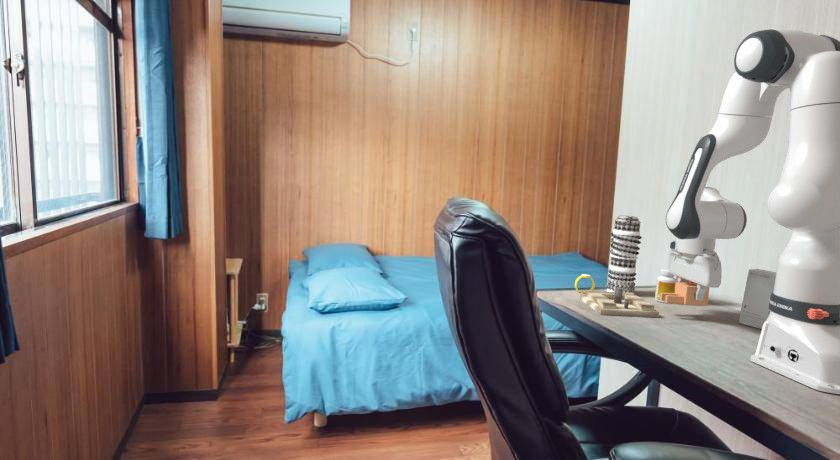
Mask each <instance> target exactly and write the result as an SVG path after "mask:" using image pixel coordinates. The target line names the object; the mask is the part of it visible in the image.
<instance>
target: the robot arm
mask: <svg viewBox="0 0 840 460" xmlns="http://www.w3.org/2000/svg"><path fill="white" fill-rule="evenodd" d="M733 60H734V61H733V64H734V65H733V66H734V68H735V69H734V70H735V72H733V74H732V76H731V77H730V78H729V81H728V83H727V85H726V87H725V90H724V93H723V95H722V99H721V103H720V105H719V110H718V114H717V117H716V121H715V122H714V124H713V126H712V128H711V129H710V131H709V132H708V133H707V134H706V135H703V136H702V137H701V138H700V139H699V140H698V142H697V143H696V146H695V147H694V149H693V152H692V154H691V157H690V159H689V162H688V164H687V167H686V170H685V172H684V175H683V176H682V177H683V178H682V180H681V183H680V185H679V187H678V190H677V193H676V195H675V197H674V199H673V200H672V203H671V204H670V206H669V208H668V210H667V211H666V216H665V225H666V227H667V229H668V230H669V232H670V233H671V234H672V235H673V236H674V237H675V238H676V239H674V240H671V241H669V243H668V249H670V250H669V253H668V262H667V263H668V265H667V266H668V267H667V270H669V272H670V274H673V275H675V276H674V277H676V276H678V282H685V283H687V281H688V280H689V281H692V282H694V283H697V288H698V290H697V292H696V293H694V299H695V300H698V301H703V298H704V294H705V292H706V291H707V289H708V287H709V288H713V289H714V288H715V289H716V288H717V289H718V288H719V287H720V286H721V284H722V269H723V268H722V263H721V262H722V261H721V259H720V256H719V255H718V254H717V253H718V252H717V251H715V249H716V248H715V247H716V240H730V239H731V240H732V239H737V238H738V237H740V236H741V235H742V234H743V233H744V230H745V229H746V228H747V227H746V226H747V221H748V218H747V214H746V210H745V209H744V207H743V206H742V205H741V204H740V203H737V202H736V203H735V202H733V201H731V200H729V199H727V198H725V197H724V196H723V195H721V194H720V190H719V189H717V188H716V187H715V188H714V187H709V186H706V185H707V183H708V181H709V178H710V175H711V173H712V171H713V170H714V168H715V167H716V166H717V165H719V163H721V162H723V161H725V160H727V159H730V158H733V157H736V156H739V155H742V154H745V153H748V152H750V151H753V150H754V149H755V148H757V147H759V146H760V145H761V144H762V143H763V142H764V141H765V140H766V138H767V136H768V134H769V130H770V128H771V124H772V121H773V115H774V112H775V111H774V110H775V107H776V102H777V99H778V97H779V96H780V94H781V93H782V92H783V91H786V90H787V89H789V91H790V103H789V123H788V125H789V126H788V144H787V150H786V156H785V160H784V163H783V165H782V166H783V167H782V170H781V173H780V176H779V179H778V182H777V185H775V187H774V188H773V189H772V191H771V192H770V194H769V195H768V198H767V205H766V206H767V210H768V214H769V215H770V217H771V219H772V220H773V222H775V223H777V224H778V225H780V226H782V227H785V228H786V229H788V230H791V231H792V234H791V236H790V238H789V240H788V243H787V245H786V246H785V248H784V249H783V250H782V252H781V253H780V255H779V256H778V259H777V267H776V271H775V272H776V279H775V285H774V292H773V293H771V296H770V298H769V309H770V314H769V316H768V318H767V320H766V321H765V322H764V324H763V327H762V329H761V332H760V336H759V337H758V338H759V339H758V343H757V347H756V351H755V353H754V354H752V355H751V356H750V361H751V362H753V363H754V364H757V365H760V366H761V367H764V368H766V369H769V370H770V371H773V372H775V373H777V374H780V375H782V376H784V377H786V378H789V379H790V380H793V381H795V382H798V383H800V384H802V385H803V386H807V387H808V388H812V389H813V390H816V391H819V392H824V393H830V394H835V395H840V41H839V40H838V39H836V38H834V37H832V36H829V35H826V34H821V35H819V34H815V33H809V32H804V31H802V30H790V29H788V30H786V29H785V30H776V29H763V30H757V31H754V32H752V33H750V34H748V35H746V37H745V38H744V39H742V41H741V42H740V44H739V45H738V47H737V48H736V51H735V55H734V59H733Z"/></svg>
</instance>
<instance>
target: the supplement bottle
mask: <svg viewBox="0 0 840 460" xmlns="http://www.w3.org/2000/svg"><path fill="white" fill-rule="evenodd" d="M659 274H660V275H659V276H657V278H656V285H655V293H654V300H655V301H656V302H658V303H662V302H663V304H666V303H665V301H661V300H660V293H675V284H676V276H675V275H673V274H670V272H669V269H668V268H667V269H663V268H661V269H660V273H659Z"/></svg>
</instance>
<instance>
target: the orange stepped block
mask: <svg viewBox="0 0 840 460" xmlns="http://www.w3.org/2000/svg"><path fill="white" fill-rule="evenodd" d="M697 290H698V288H697V283H685V282H676V284H675V293H660V300H661V301H665V303H664V304H675V305H685V306H698V307H699V306H703V307H707V306H709V305H708V303H709V295H710V287H708V289H707V291H706V292H705V294H704V298H703V301H698V300H695V299H694V293H696V292H697Z"/></svg>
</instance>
